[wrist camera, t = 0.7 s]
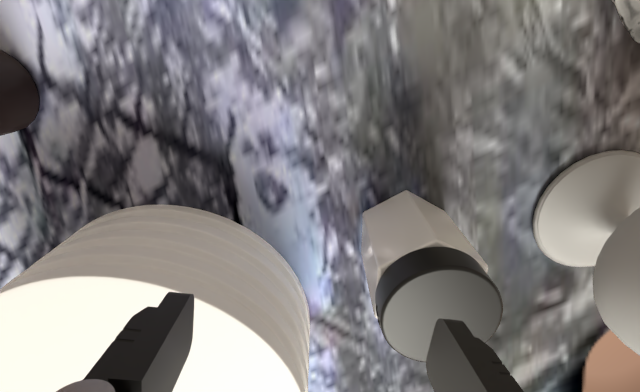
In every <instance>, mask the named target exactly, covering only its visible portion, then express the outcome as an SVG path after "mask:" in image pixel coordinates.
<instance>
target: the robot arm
mask: <svg viewBox="0 0 640 392" xmlns="http://www.w3.org/2000/svg"><path fill="white" fill-rule="evenodd" d="M193 320H194V295H193V294H187V293H177V292H168V293H167V294H166V296H165V297H164V299H163V300H162V301H161V303H160V304H159V306H158V307H146V308H144V309H143V310H141V311H140V312H138V313H137V314H135V315H134V316H132V318H131V319H130V320H129V321H128V323H127V324H126V325H125V327H124V328H123V331H121V332H120V333H119V334H118V335H117V337H116V338H115V341H113V342H112V343H111V344H110V346H109V347H108V348H107V350H106V351H105V352H104V353H103V355H102V356H101V357H100V359H99V360H98V361H97V362H96V364H95V365H94V366H93V368H92V369H91V370H90V371H89V373H88V374H87V375H86V377H85V378H84V379H83V380H81V381H77V382H74V383H71V384H69V385H67V386H65V387H63V388H61V389H59V390H58V391H56V392H172V391H173V389H174V387H175V384H176V382H177V380H178V378H179V375H180V373H181V371H182V369H183V367H184V364H185V362H186V360H187V358H188V355H189V352H190V349H191V344H192V338H193ZM426 369H427V374H428V378H429V380H430V382H431V385H432V387H433V389H434V391H435V392H524V391H523V390H522V389H521V387H520V386H519V385H518V383H517V382H516V381H515V379H514V378H513V377H512V376H510V372H509V371H508V370H507V368H506V367H505V366H504V365H502V362H501V360H500V359H499V357H498V356H497V355H496V353H495V352H494V351H493V349H492V348H490V347H489V346H488V345H487V344H485V343H484V342H483V341H482V340H481V339H479V338H475V337H474V336H473V334H472V333H471V331H470V330H469V329H468V327H467V326H466V324H465V323H464V322H463V321H461V320H451V319H438V320H437V321H436V324H435V327H434V331H433V335H432V339H431V342H430V346H429V350H428V354H427V359H426Z"/></svg>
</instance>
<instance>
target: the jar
mask: <svg viewBox="0 0 640 392" xmlns="http://www.w3.org/2000/svg"><path fill="white" fill-rule="evenodd" d="M361 255H362V259H363V264H364V269H365V273H366V278H367V283H368V287H369V292H370V297H371V301H372V306H373V311H374V315H375V317H376V318H377V319H378V322H379V325H380V328H381V330H382V333H383V335H384V337H385V339H386V341H387V342H388V344H389V345H390V346H391V347H392V348H393V349H394V350H396V351H397V352H398V353H400V354H401V355H403V356H405V357H407V358H410V359H412V360H416V361H420V362H426V359H427V354H428V350H429V346H430V342H431V339H432V335H433V331H434V327H435V324H436V321H437V320H438V319H451V320H461V321H463V322H464V323H465V324H466V326H467V327H468V329H469V330H470V331H471V333H472V334H473V336H474V337H475V338H479V339H481V340H482V341H483V342H484V343H486V342H487V341H489V339H490V338H491V337H492V336H493V335H494V333H495V332H496V330H497V328H498V326H499V324H500V321H501V318H502V313H503V302H502V298H501V295H500V292H499V290H498V288H497V287H496V285H495V284H494V283H493V281H492V280H491V279H490V277H489V276H488V275H487V271H488V265H487V264H486V263H485V261H484V260H483V259H482V258H481V256H480V255H479V254H478V253H477V251H476V250H475V249H474V247H473V246H472V245H471V244H470V242H469V241H468V240H467V239H466V237H465V236H464V235H463V234H462V232H461V231H460V230H459V228H458V227H457V226H456V225H455V223H454V222H453V221H452V220H451V218H450V217H449V216H448V215H447V213H446V212H445V211H444V210H442V209H440V208H438V207H436V206H435V205H433V204H431V203H429V202H427V201H426V200H424V199H422V198H420V197H418V196H417V195H415V194H413V193H411V192H409V191H408V190H405V191H403V192H401V193H399V194H397V195H395V196H393V197H391V198H389V199H387V200H385V201H384V202H382V203H380V204H378V205H376V206H374V207H372V208H370V209H368V210H366V211H364V212H363V220H362V244H361Z"/></svg>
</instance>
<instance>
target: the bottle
mask: <svg viewBox="0 0 640 392" xmlns="http://www.w3.org/2000/svg"><path fill="white" fill-rule="evenodd" d="M38 110H39V95H38V92H37V88H36V85H35V83H34V81H33V79H32V78H31V76H30V74H29V73H28V71H27V70H26V69H25V68H24V67H23V66H22V65H21V64H20V63H19V62H18V61H17V60H16V59H14V58H13V57H11V56H10V55H8V54H7V53H5V52H3V51H1V50H0V136H1V135H5V134H8V133H12V132H15V131H18V130H21V129H24V128H26V127H27V126H28V125H29V124H30V123H31V122H33V121H34V120H35V117H36V115H37V113H38Z"/></svg>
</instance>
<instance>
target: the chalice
mask: <svg viewBox="0 0 640 392" xmlns="http://www.w3.org/2000/svg"><path fill="white" fill-rule="evenodd" d="M533 233H534V238H535V240H536V243H537V245H538V247H539V248H540V250H541V251H542V252H543V253H544V255H546V256H547V257H548V258H550V259H551V260H553V261H554V262H557V263H560V264H563V265H565V266H573V267H588V266H595V269H594V272H593V294H594V300H595V303H596V305H597V308H598V310H599V313H600V315H601V317H602V319H603V321H604V323H605V324H606V325H607V326H608V327H609V328H610V330H611V331H612V332H613V333H614V334H615V335H616V336H617V337H618V338H619V339H620V340H621V341H622V342H623V343H624V344H625V345H626V346H628V347H629V348H631V349H632V350H633V351H634V352H636V353H637V354H638V355H640V153H638V152H633V151H626V150H613V151H605V152H601V153H597V154H594V155H590V156H588V157H586V158H584V159H582V160H580V161H578V162H576V163H574V164H573V165H571V166H570V167H568V168H567V169H566V170H564V171H563V172H561V173H560V174H559V175H558V176H557V177H556V178H555V179H554V180H553V181H552V182H551V183H550V184H549V186H548V187H547V189H546V190H545V192H544V193H543V195H542V196H541V198H540V200H539V202H538V205H537V207H536V209H535V213H534V219H533Z"/></svg>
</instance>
